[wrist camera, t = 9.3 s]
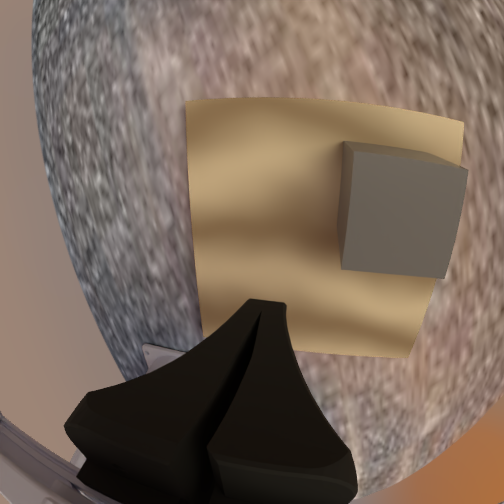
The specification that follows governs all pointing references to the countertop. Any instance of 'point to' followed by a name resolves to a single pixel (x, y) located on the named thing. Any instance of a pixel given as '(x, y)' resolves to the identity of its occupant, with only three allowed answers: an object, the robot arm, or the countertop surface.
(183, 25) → the countertop surface
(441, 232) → the grey cube
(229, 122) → the board
